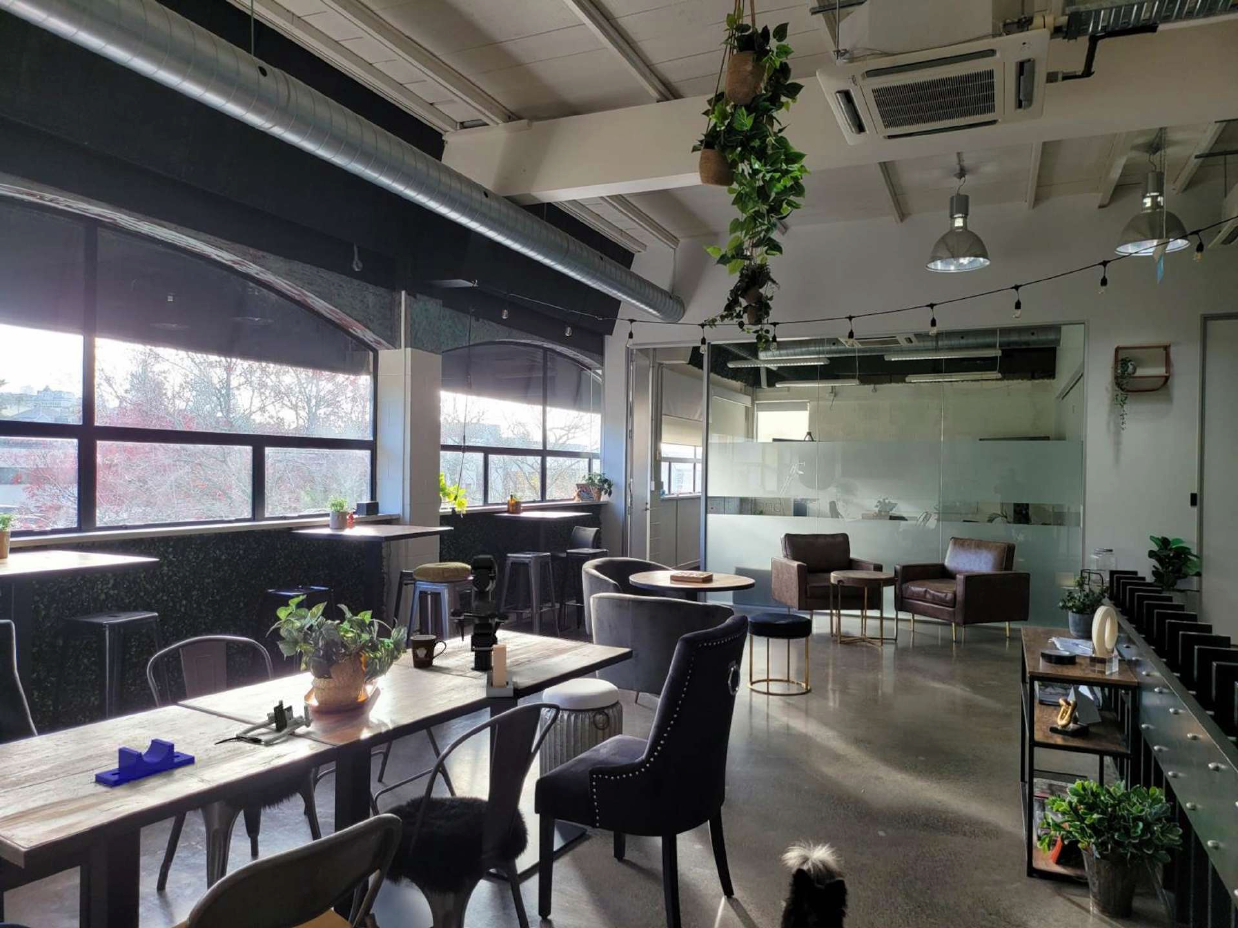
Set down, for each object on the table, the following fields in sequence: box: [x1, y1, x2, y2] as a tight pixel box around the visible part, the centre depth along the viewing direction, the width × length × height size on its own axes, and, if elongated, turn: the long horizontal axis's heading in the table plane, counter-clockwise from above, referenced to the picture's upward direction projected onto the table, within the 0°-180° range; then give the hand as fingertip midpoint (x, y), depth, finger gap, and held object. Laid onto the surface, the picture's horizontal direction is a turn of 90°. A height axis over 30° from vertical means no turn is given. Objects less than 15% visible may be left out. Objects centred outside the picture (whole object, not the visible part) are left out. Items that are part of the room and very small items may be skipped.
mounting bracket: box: [94, 738, 196, 788], centre depth 185 cm, size 18×7×6 cm, turn 148°
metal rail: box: [485, 672, 514, 698], centre depth 258 cm, size 20×8×2 cm, turn 8°
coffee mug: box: [410, 634, 447, 669], centre depth 288 cm, size 12×9×10 cm
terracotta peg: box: [492, 644, 507, 686], centre depth 254 cm, size 4×4×14 cm
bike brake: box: [214, 699, 314, 746], centre depth 209 cm, size 14×7×20 cm
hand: (477, 642), depth 270 cm, fingers open, 9 cm apart
